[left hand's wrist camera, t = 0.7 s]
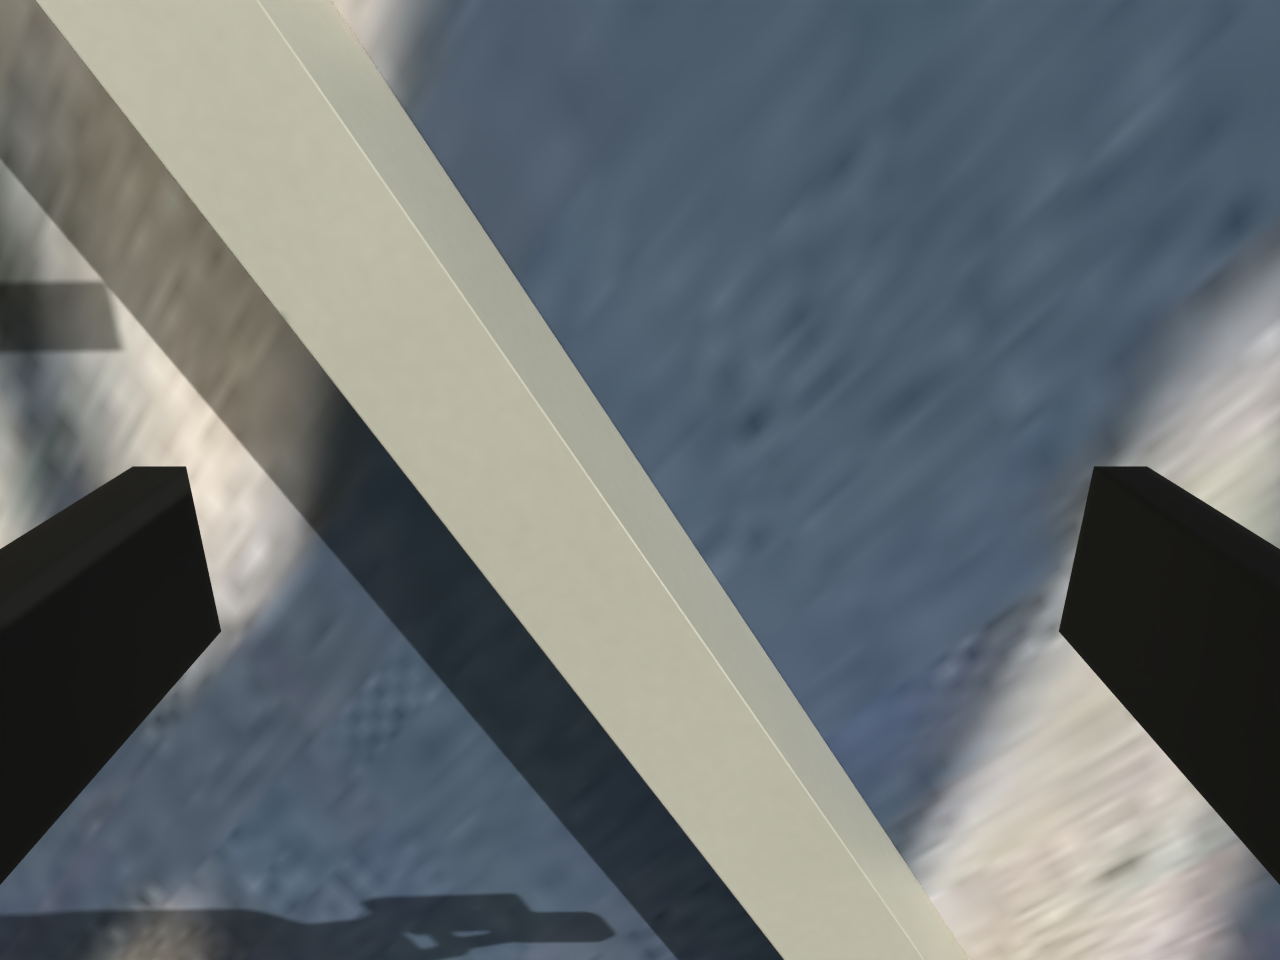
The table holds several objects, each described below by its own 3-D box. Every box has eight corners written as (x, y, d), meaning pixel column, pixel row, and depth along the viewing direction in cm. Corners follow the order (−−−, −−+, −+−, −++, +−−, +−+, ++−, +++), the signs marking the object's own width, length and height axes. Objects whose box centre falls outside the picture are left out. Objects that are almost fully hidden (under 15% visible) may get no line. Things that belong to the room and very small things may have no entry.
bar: (142, -22, 28) (-25, -75, 21) (253, -116, 27) (116, -205, 20) (931, 1055, 48) (978, 1209, 41) (1013, 1024, 47) (1076, 1178, 40)
